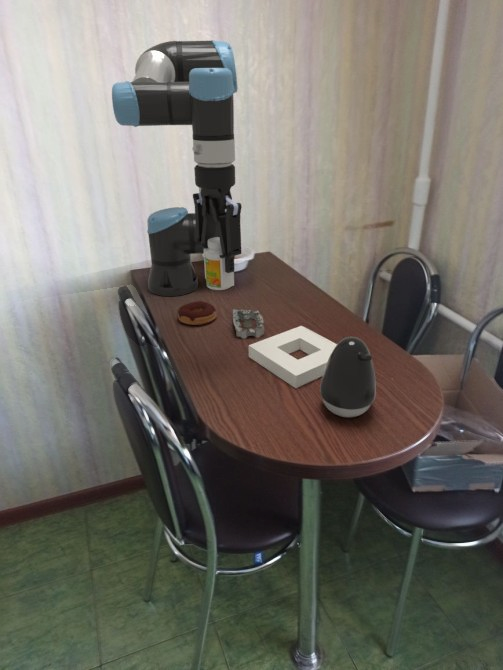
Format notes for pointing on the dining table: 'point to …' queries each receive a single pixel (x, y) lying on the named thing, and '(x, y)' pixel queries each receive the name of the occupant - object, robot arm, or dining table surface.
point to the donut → (196, 313)
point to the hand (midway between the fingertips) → (219, 281)
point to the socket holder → (285, 366)
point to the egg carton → (248, 323)
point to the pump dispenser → (349, 379)
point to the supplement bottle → (213, 264)
